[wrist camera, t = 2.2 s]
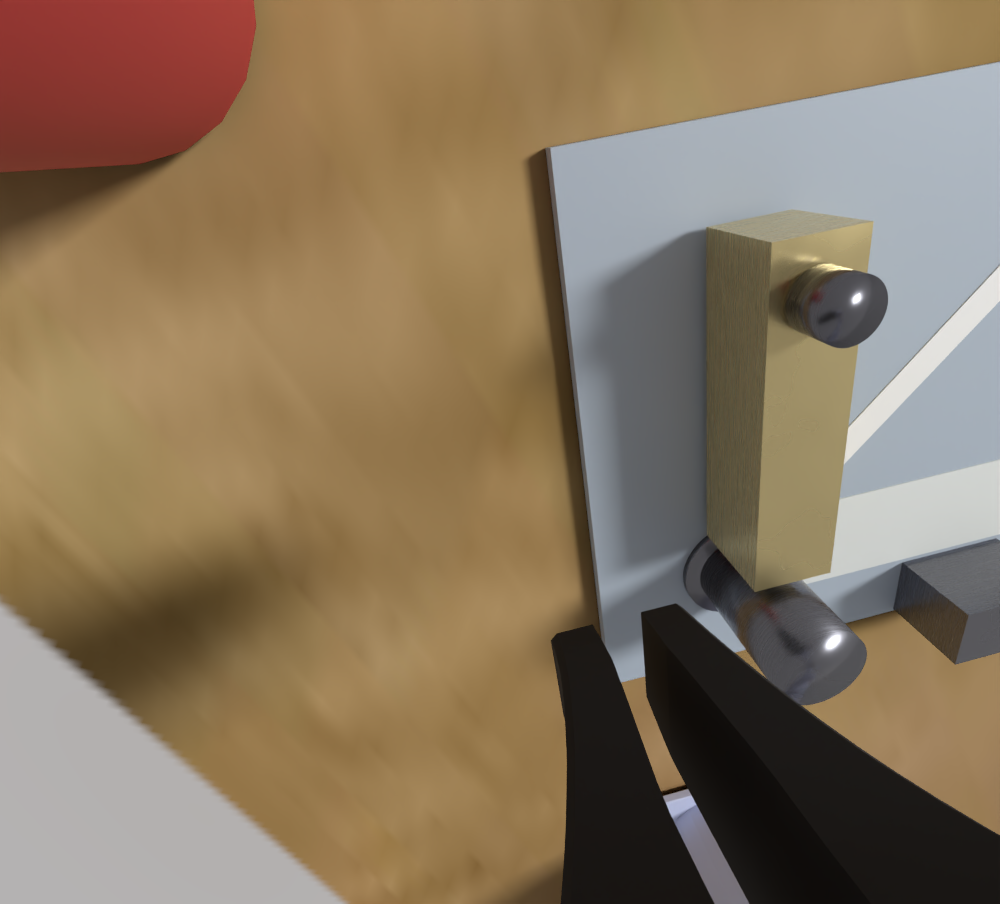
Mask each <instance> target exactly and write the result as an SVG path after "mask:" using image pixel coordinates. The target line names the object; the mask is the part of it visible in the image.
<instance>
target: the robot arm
mask: <svg viewBox="0 0 1000 904" xmlns="http://www.w3.org/2000/svg"><path fill="white" fill-rule="evenodd" d="M641 622H642V637H643V651H644V665H645V679H646V693H647V699H648V701H649V704H650V706H651V709H652V711H653V714H654V716H655V719H656V721H657V724H658V726H659V729H660V731H661V733H662V736H663V738H664V741H665V743H666V746H667V748H668V750H669V753H670V755H671V757H672V759H673V761H674V763H675V765H676V767H677V769H678V771H679V773H680V775H681V777H682V778H683V780H684V782H685V784H686V786H687V788H688V789H686V790H682V791H678V792H675V793H671V794H668V795H664V796H663V795H662V793H661V790H660V788H659V786H658V783H657V781H656V778H655V775H654V773H653V770H652V767H651V764H650V761H649V759H648V756H647V753H646V750H645V748H644V745H643V742H642V739H641V737H640V734H639V731H638V728H637V726H636V723H635V720H634V717H633V714H632V712H631V709H630V706H629V703H628V701H627V698H626V695H625V692H624V690H623V687H622V684H621V681H620V679H619V676H618V673H617V671H616V668H615V665H614V663H613V660H612V658H611V656H610V654H609V652H608V651H607V649H606V647H605V645H604V643H603V641H602V640H601V638H600V636H599V635H598V633H597V631H596V630H595V628H594V626H593V625H589V626H585V627H581V628H577V629H573V630H569V631H565V632H561V633H558V634H556V635H555V636H554V638H553V639H552V640H551V643H552V649H553V655H554V661H555V667H556V673H557V679H558V685H559V691H560V697H561V702H562V708H563V714H564V718H565V726H566V747H567V800H566V835H565V853H564V869H563V882H562V895H561V904H1000V835H998V834H996V833H995V832H993V831H991V830H990V829H988V828H986V827H984V826H983V825H981V824H979V823H978V822H976V821H974V820H973V819H971V818H969V817H968V816H966V815H964V814H963V813H961V812H959V811H958V810H956V809H954V808H953V807H951V806H949V805H948V804H946V803H944V802H943V801H941V800H939V799H938V798H936V797H934V796H933V795H931V794H930V793H928V792H927V791H925V790H923V789H922V788H920V787H919V786H917V785H915V784H914V783H912V782H911V781H909V780H908V779H906V778H904V777H903V776H901V775H900V774H898V773H897V772H895V771H894V770H892V769H890V768H889V767H887V766H886V765H884V764H883V763H881V762H880V761H878V760H877V759H875V758H874V757H873V756H871V755H870V754H868V753H867V752H865V751H864V750H862V749H861V748H859V747H858V746H856V745H855V744H854V743H852V742H851V741H849V740H848V739H847V738H845V737H844V736H842V735H841V734H839V733H838V732H837V731H835V730H834V729H832V728H831V727H830V726H828V725H827V724H825V723H824V722H823V721H821V720H820V719H819V718H817V717H816V716H815V715H813V714H812V713H810V712H809V711H808V710H806V709H805V708H804V707H802V706H801V705H800V704H798V703H797V702H796V701H795V700H793V699H792V698H791V697H789V696H788V695H787V694H786V693H784V692H783V691H782V690H780V689H779V688H778V687H777V686H775V685H774V684H773V683H771V682H770V681H769V680H768V679H766V678H765V677H764V676H762V675H761V674H760V673H759V672H757V671H756V670H755V669H754V668H753V667H751V666H750V665H749V664H748V663H746V662H745V661H744V660H743V659H742V658H740V657H739V656H738V655H737V654H736V653H734V652H733V651H732V650H731V649H730V648H728V647H727V646H726V645H725V644H724V643H723V642H721V641H720V640H719V639H718V638H717V637H716V636H714V635H713V634H712V633H711V632H710V631H709V630H707V629H706V628H705V627H704V626H703V625H702V624H701V623H700V622H698V621H697V620H696V619H695V618H694V617H693V616H692V615H690V614H689V613H688V612H687V611H686V610H685V609H684V608H683V607H681V606H680V605H678V604H676V603H675V604H671V605H667V606H663V607H659V608H655V609H651V610H647V611H643V612H641Z"/></svg>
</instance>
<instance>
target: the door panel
mask: <svg viewBox="0 0 1000 904" xmlns="http://www.w3.org/2000/svg"><path fill="white" fill-rule="evenodd" d="M545 149H546V157H547V166H548V175H549V184H550V192H551V201H552V210H553V219H554V227H555V236H556V245H557V253H558V262H559V271H560V280H561V288H562V297H563V306H564V315H565V323H566V332H567V341H568V349H569V358H570V367H571V376H572V384H573V393H574V402H575V411H576V419H577V428H578V437H579V446H580V454H581V463H582V472H583V480H584V489H585V498H586V507H587V515H588V524H589V533H590V542H591V550H592V559H593V568H594V576H595V585H596V594H597V603H598V611H599V620H600V629H601V638H602V641H603V643H604V645H605V647H606V649H607V651H608V652H609V654H610V656H611V658H612V660H613V663H614V665H615V668H616V671H617V673H618V676H619V679H620V681H621V682H625V681H629V680H632V679H636V678H640V677H644V676H645V665H644V651H643V637H642V622H641V612H643V611H647V610H651V609H655V608H659V607H663V606H667V605H671V604H675V603H676V604H678V605H680V606H681V607H683V608H684V609H685V610H686V611H687V612H688V613H689V614H690V615H692V616H693V617H694V618H695V619H696V620H697V621H698V622H700V623H701V624H702V625H703V626H704V627H705V628H706V629H707V630H709V631H710V632H711V633H712V634H713V635H714V636H716V637H717V638H718V639H719V640H720V641H721V642H723V643H724V644H725V645H726V646H727V647H728V648H730V649H731V650H732V651H733V652H738V651H742V650H746V649H745V648H744V646H743V645H742V643H741V642H740V641H739V639H738V638H737V637H736V635H735V634H734V632H733V631H732V630H731V628H730V627H729V626H728V624H727V623H726V621H725V620H724V619H723V617H722V616H721V615H720V613H719V612H716V611H710V610H706V609H704V608H702V607H700V606H699V605H697V604H696V603H695V602H694V601H693V600H692V598H691V597H690V595H689V594H688V593H687V591H686V589H685V586H684V582H683V571H684V567H685V564H686V561H687V559H688V557H689V555H690V553H691V552H692V550H693V549H694V548H695V547H696V545H697V544H698V543H699V542H700V541H701V540H702V539H703V538H705V537H706V536H707V409H706V227H708V226H713V225H718V224H723V223H728V222H733V221H738V220H742V219H747V218H752V217H757V216H762V215H767V214H772V213H777V212H781V211H786V210H791V209H793V210H800V211H807V212H814V213H821V214H828V215H835V216H841V217H848V218H855V219H862V220H869V221H874V223H873V232H872V240H871V248H870V256H869V264H868V272H867V273H869V274H872V275H875V276H877V277H878V278H880V279H881V280H882V281H883V283H884V284H885V286H886V289H887V292H888V306H887V310H886V313H885V316H884V318H883V320H882V322H881V324H880V325H879V327H878V328H877V329H876V330H875V332H874V333H873V334H872V335H871V336H870V337H868V338H867V339H866V340H864V341H863V342H861V343H860V344H859V345H858V353H857V361H856V369H855V377H854V385H853V394H852V402H851V410H850V418H849V426H848V434H847V442H846V450H845V458H844V466H843V475H842V483H841V491H840V499H839V507H838V515H837V523H836V531H835V539H834V547H833V556H832V564H831V572H830V573H827V574H823V575H819V576H815V577H811V578H808V579H804V580H803V581H804V582H805V583H806V584H807V585H808V586H809V587H810V588H811V589H812V590H813V591H814V592H815V593H816V594H817V595H818V596H819V598H820V599H821V600H822V601H823V602H824V603H825V604H826V605H827V606H828V607H829V608H830V609H831V610H832V611H833V612H834V613H835V614H836V615H837V616H838V617H839V618H840V619H841V620H842V621H843V622H844V623H848V622H852V621H855V620H859V619H863V618H867V617H870V616H874V615H878V614H882V613H885V612H889V611H893V610H894V609H893V607H894V602H895V597H896V592H897V586H898V581H899V576H900V571H901V566H902V562H906V561H910V560H913V559H917V558H921V557H925V556H929V555H933V554H937V553H941V552H944V551H948V550H952V549H956V548H960V547H964V546H968V545H972V544H975V543H979V542H983V541H987V540H991V539H995V538H997V539H998V540H1000V61H999V62H994V63H989V64H984V65H978V66H973V67H968V68H963V69H957V70H952V71H947V72H942V73H936V74H931V75H926V76H921V77H915V78H910V79H905V80H900V81H894V82H889V83H884V84H879V85H873V86H868V87H863V88H858V89H852V90H847V91H842V92H837V93H831V94H826V95H821V96H816V97H810V98H805V99H800V100H795V101H789V102H784V103H779V104H774V105H768V106H763V107H758V108H753V109H747V110H742V111H737V112H732V113H726V114H721V115H716V116H711V117H705V118H700V119H695V120H690V121H684V122H679V123H674V124H669V125H663V126H658V127H653V128H648V129H642V130H637V131H632V132H627V133H621V134H616V135H611V136H606V137H600V138H595V139H590V140H585V141H579V142H574V143H569V144H564V145H558V146H553V147H548V148H545Z"/></svg>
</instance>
